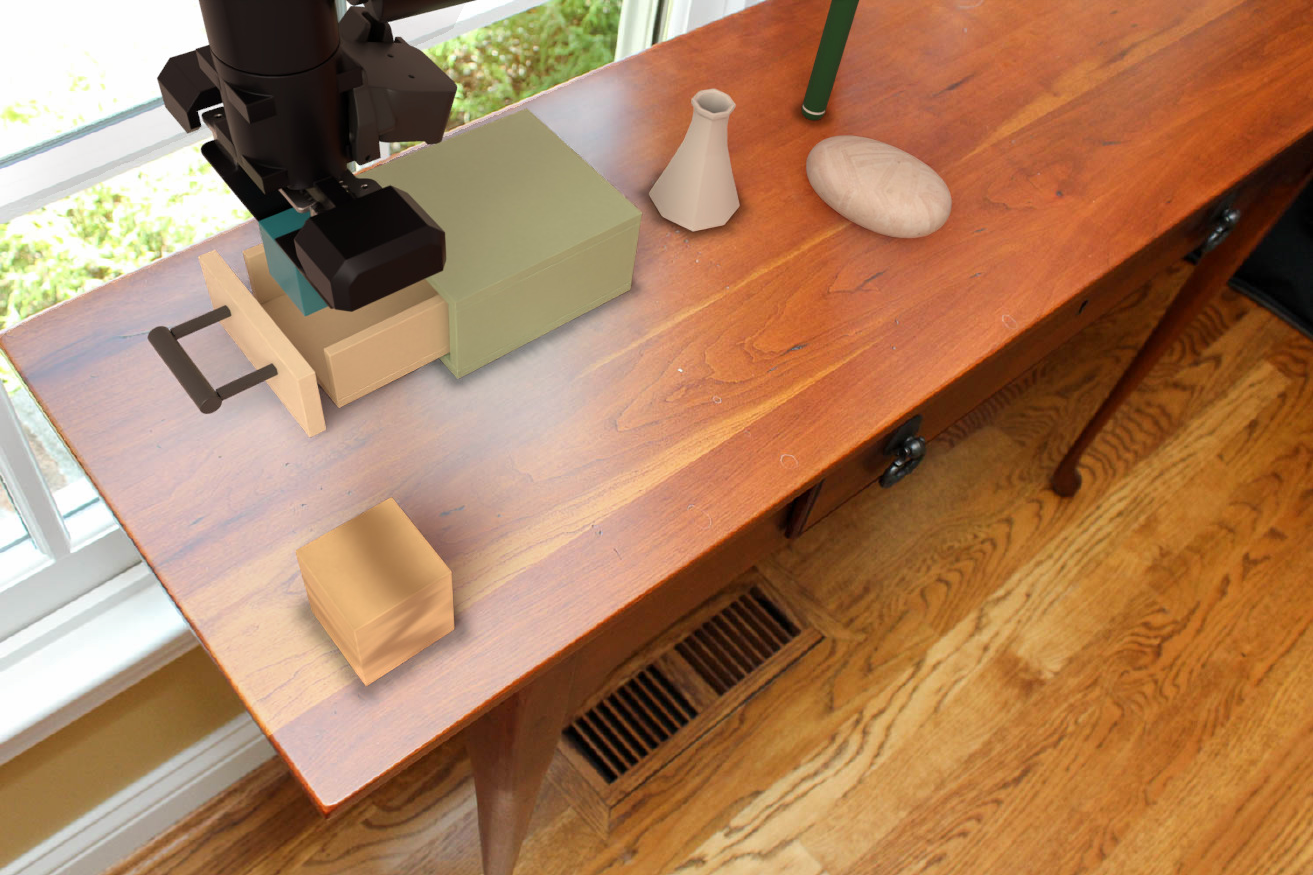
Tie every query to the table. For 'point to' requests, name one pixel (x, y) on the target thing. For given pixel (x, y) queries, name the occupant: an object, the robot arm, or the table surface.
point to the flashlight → (828, 57)
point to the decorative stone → (878, 186)
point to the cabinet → (517, 234)
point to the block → (288, 260)
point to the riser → (378, 589)
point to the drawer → (306, 341)
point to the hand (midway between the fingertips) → (318, 281)
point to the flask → (700, 169)
